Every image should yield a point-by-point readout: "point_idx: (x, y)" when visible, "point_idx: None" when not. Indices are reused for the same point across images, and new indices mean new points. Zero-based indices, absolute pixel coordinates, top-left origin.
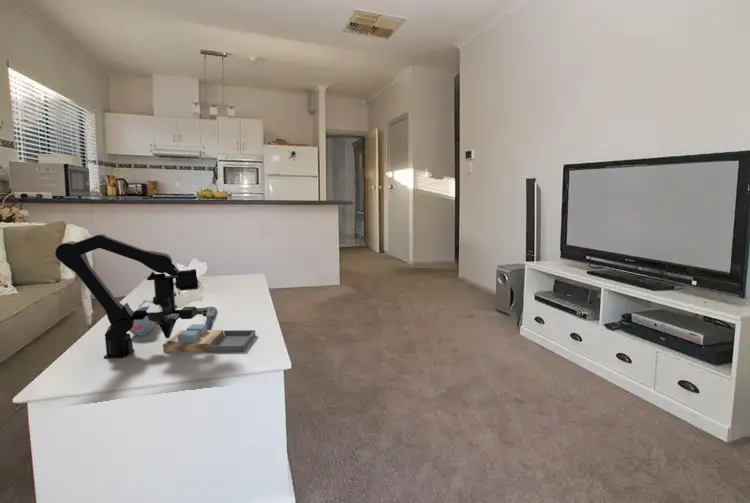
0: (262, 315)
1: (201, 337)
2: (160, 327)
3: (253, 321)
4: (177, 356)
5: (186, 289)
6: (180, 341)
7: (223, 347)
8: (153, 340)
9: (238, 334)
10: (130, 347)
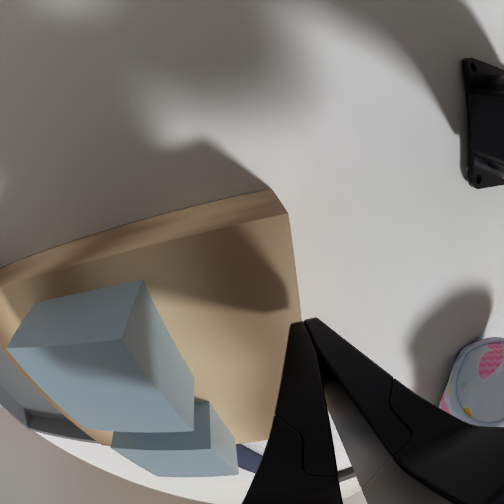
0: (165, 488)
1: None
2: (420, 397)
3: (149, 476)
4: (74, 125)
5: None
6: (117, 294)
7: None
8: (421, 333)
9: (66, 423)
10: (495, 127)
